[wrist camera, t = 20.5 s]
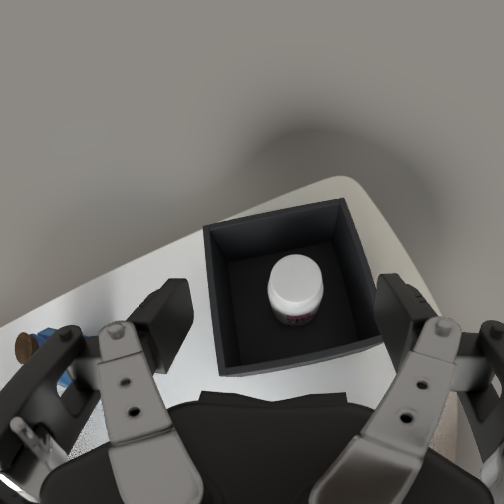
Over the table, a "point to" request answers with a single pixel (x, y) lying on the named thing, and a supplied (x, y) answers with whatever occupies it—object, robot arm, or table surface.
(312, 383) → the table surface
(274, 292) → the pill bottle
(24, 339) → the perfume bottle
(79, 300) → the table surface
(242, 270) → the open box
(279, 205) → the table surface
